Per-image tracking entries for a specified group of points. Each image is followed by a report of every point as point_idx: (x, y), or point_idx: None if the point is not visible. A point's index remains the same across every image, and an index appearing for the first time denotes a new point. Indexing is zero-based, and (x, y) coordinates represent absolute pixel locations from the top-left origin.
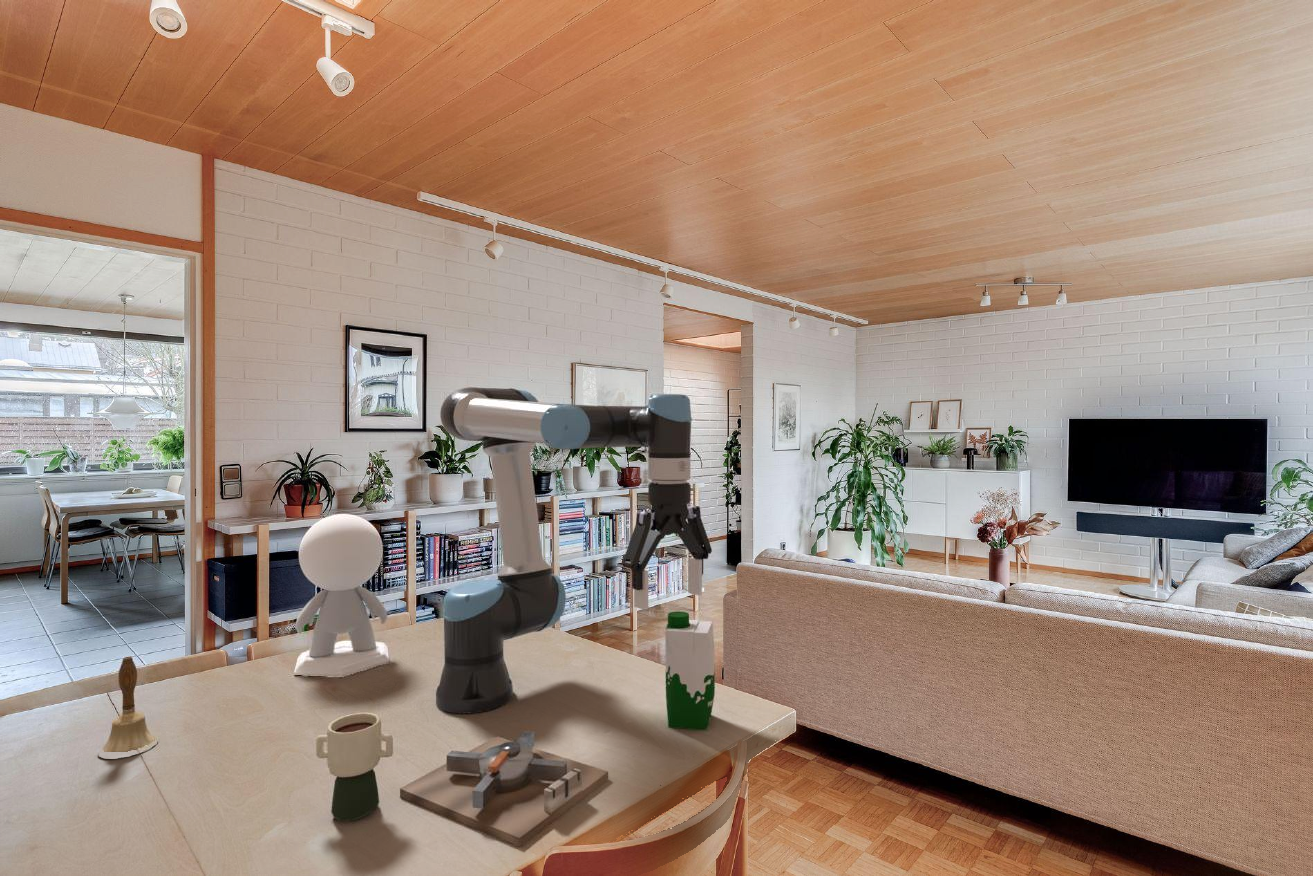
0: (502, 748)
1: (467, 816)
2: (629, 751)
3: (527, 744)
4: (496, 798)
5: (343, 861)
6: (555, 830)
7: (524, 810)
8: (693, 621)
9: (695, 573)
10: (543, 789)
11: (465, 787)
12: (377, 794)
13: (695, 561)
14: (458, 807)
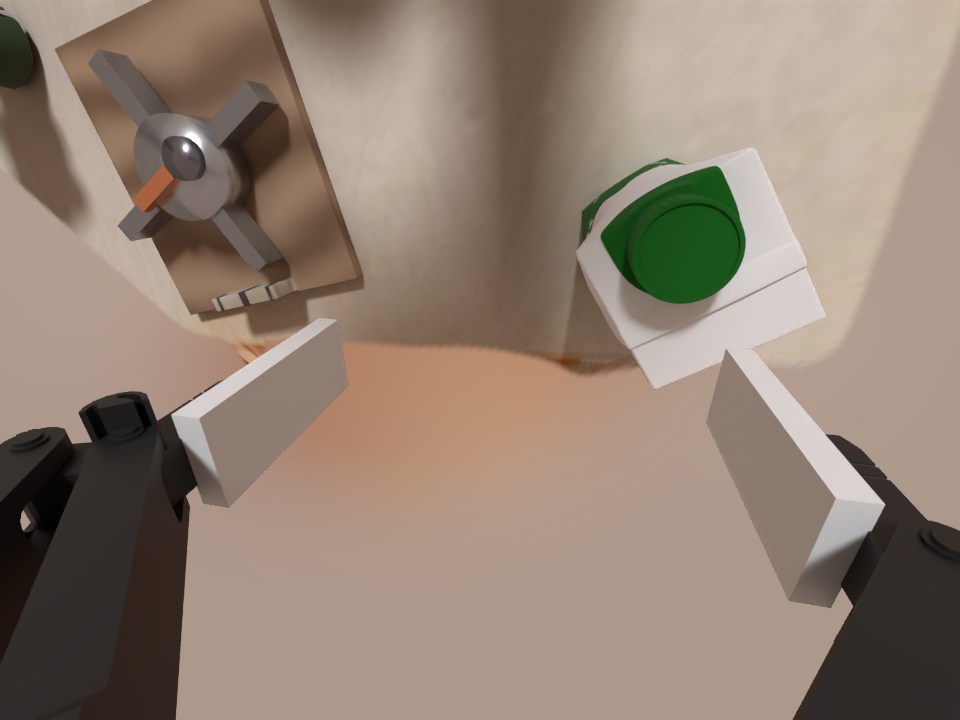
0: (165, 155)
1: None
2: (449, 228)
3: (243, 127)
4: None
5: (15, 172)
6: (246, 316)
7: (211, 269)
8: (766, 261)
9: (756, 479)
10: None
11: None
12: (12, 62)
13: (794, 554)
14: (133, 188)
